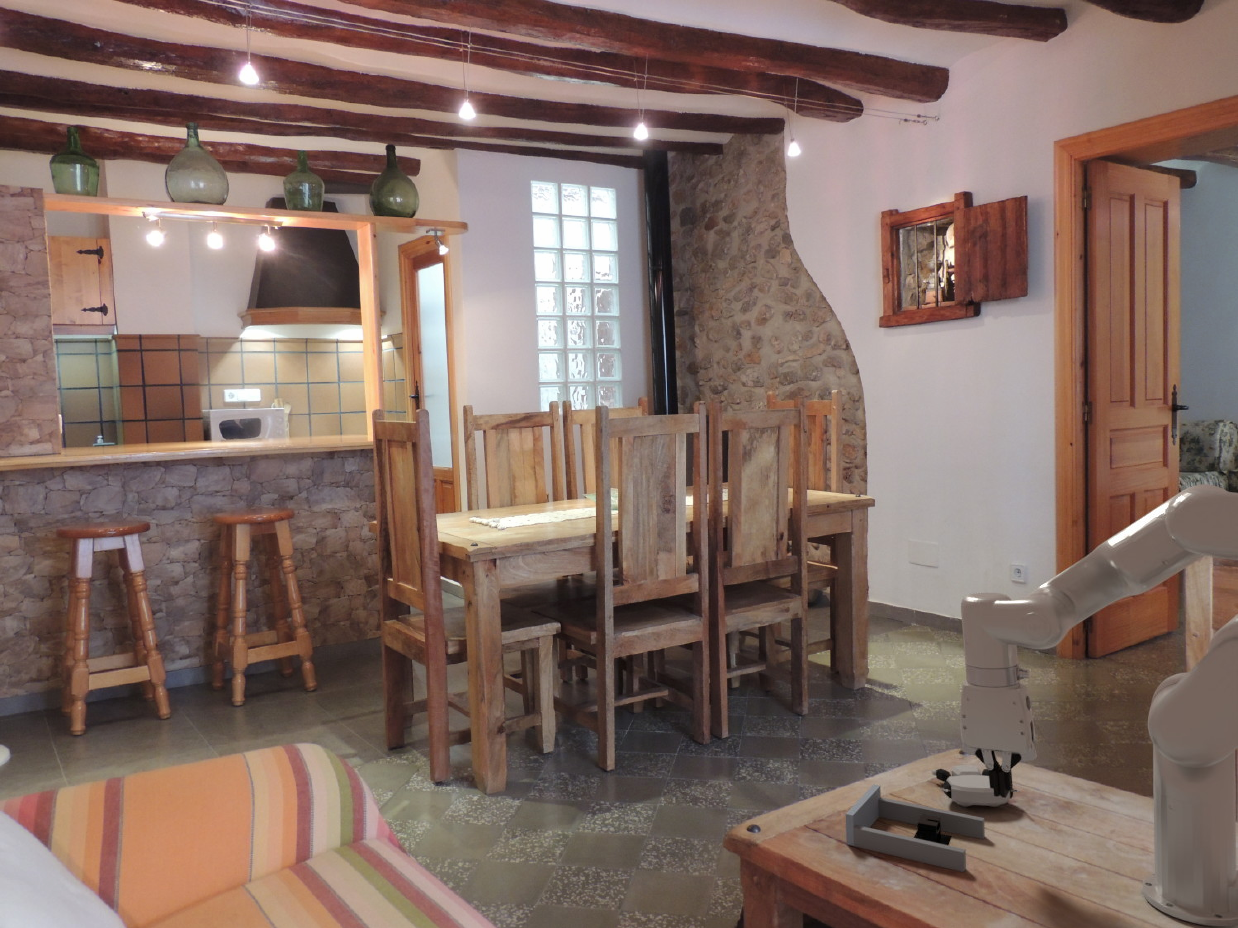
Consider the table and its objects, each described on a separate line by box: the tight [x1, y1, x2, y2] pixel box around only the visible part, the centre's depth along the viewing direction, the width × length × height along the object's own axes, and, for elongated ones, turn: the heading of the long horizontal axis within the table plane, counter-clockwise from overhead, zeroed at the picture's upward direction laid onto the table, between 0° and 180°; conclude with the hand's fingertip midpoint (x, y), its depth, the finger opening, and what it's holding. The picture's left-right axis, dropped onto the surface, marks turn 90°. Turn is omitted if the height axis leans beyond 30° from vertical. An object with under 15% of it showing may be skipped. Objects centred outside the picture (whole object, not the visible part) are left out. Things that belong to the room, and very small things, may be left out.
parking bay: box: [845, 784, 986, 873], centre depth 145 cm, size 18×14×5 cm
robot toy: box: [931, 764, 1021, 808], centre depth 161 cm, size 12×4×15 cm
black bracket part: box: [913, 814, 953, 846], centre depth 144 cm, size 12×7×5 cm, turn 151°
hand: (1001, 793), depth 137 cm, fingers closed
